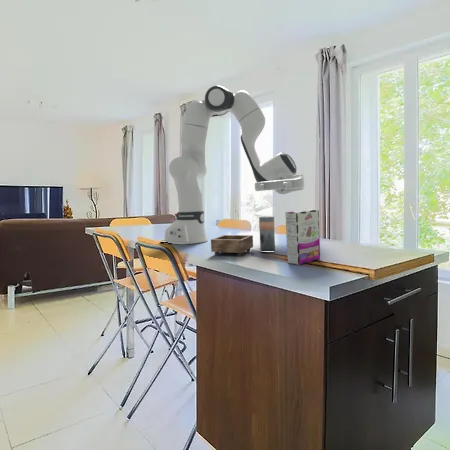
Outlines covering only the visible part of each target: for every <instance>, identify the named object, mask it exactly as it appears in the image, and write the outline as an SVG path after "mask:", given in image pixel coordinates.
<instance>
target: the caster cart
mask: <svg viewBox="0 0 450 450" xmlns="http://www.w3.org/2000/svg"><path fill="white" fill-rule="evenodd" d="M253 248H254V238H253V235H252V234H251V235H250V234H247V235H246V234H241V235H239V234H222V235H220V236H217V237H214V238H211V239H210V249H211V251H210V252H212V253H214V255H215V256H219V255H220V253H233V254H234V253H236V254H237V257H241V256H243V253H245V252H247V253H248V252H250V251H252V250H251V249H253Z"/></svg>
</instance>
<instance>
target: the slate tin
mask: <svg viewBox="0 0 450 450" xmlns="http://www.w3.org/2000/svg"><path fill="white" fill-rule="evenodd" d="M258 225H259V226H258V228H259V230H258V231H259V249H260V250H261V251H275V252H276V241H275V239H276V237H275V236H276V235H275V228H276V227H275V216H259V217H258ZM260 250H259V251H260Z"/></svg>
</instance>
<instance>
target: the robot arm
mask: <svg viewBox="0 0 450 450" xmlns="http://www.w3.org/2000/svg"><path fill="white" fill-rule="evenodd" d="M205 92H206V93H205V95H204V100H203V99H202V100H199V99H198V100H197V99H196V100H192V101H190V102H189V103H188V106H187V109H186V112H185V115H184V119H183V126H182V130H181V137H180V143H181V146H182V156H177V157H176V158H173V159H172V160H171V161H170V162H169V165H168V172H169V174H170V176H171V177H172V179H173V182H174V185H175V189H176V192H177V201H178V202H177V203H178V212H177V213H174V214H173V215H174V216H173V217H175V221H172V223H171V224H170V225H169V226H167V228H165V231H164V238H162V239H160V240H161V241H166V242H169V243H172V244H171V245H183V246H184V245H189V244H190V245H191V244H199V243H205V242H208V237H207V233H206V228H205V212H204V209H203V207H204V206H203V194H202V191H201V190H200V187H199V186H200V185H199V181H200V180H202V179H203V178H204V177H205V176H206V174H207V165H206V142H207V135H208V128H209V123H210V120H211V118H214V117H222V116H224V115H226V114H227V113H229V112H230V113H231V114H233V116H234V118H236V120H237V122H238V124H239V125H240V129H241V135H240V143H241V145H242V147H243V150H244V153H245V155H246V158H247V160H248V162H249V165H250V167H251V170H252V174H253V176H254V179H255V183H254V190H255V191H256V192H263V191H264V192H265V191H275V192H276V193H277V194H279V195H280V194H281V195H287V194H290V193H294V192H297V191H303V190H304V189H305V179H304V174H300V173H297V165H296V162H295V161H294V160H293V158H292V157H291V156H290V155H289V154H287V153H285V152H279V153H278V154H276V155H274V156H273V157H271V158H270V159H268V160H267V161H265V162H264V163H262V162H261V160H260V158H259V155H258V153H257V151H256V148H255V144H256V142H257V140H258V138H259V136H260V135H261V133H263V130H264V128H265V126H266V117H265V115H264V112H263V111H262V109H261V108H260V106H259V105H258V103H257V101H256V100H255V99H254V98H253V97H252V95H251V94H250V93H249V92H247V91H246V90H239V91H237V92H235V93H234V92H233V91H231V90H229V89H227V88H225V87H224V86H221V85H213V86H211V87H209V88H208V89H207V91H205Z"/></svg>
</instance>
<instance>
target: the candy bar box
mask: <svg viewBox="0 0 450 450" xmlns="http://www.w3.org/2000/svg"><path fill="white" fill-rule="evenodd" d="M319 213H320V210H319V209H314V208H313V209H311V208H309V209H307V208H306V209H301V210H294V211H293V210H291V211H286V212H285V230H286V255H287V257H286V258H287V259H286V260H287V264H289V265H296V266H302V265H304V264H309V263H311V261H312V262H314V261H313V260H316V259H319V260H320V259H321V247H320V245H321V244H320V243H321V242H320V241H321V239H320V237H321V236H320V214H319ZM316 261H317V260H316Z"/></svg>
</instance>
